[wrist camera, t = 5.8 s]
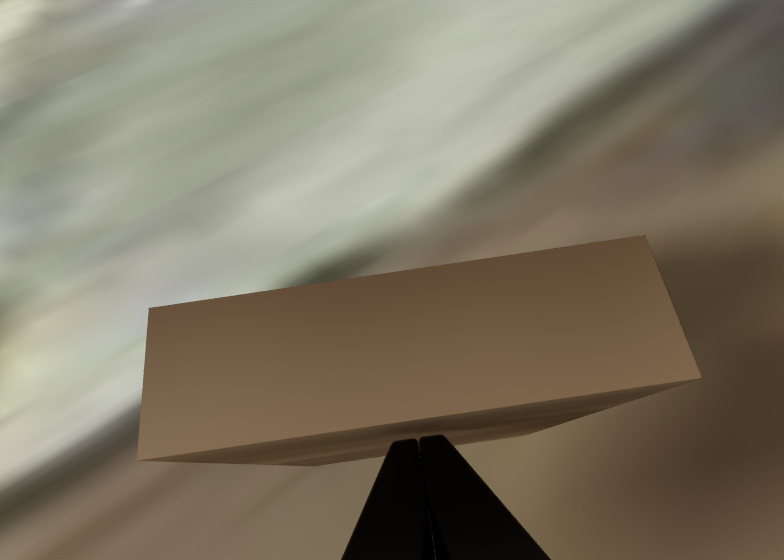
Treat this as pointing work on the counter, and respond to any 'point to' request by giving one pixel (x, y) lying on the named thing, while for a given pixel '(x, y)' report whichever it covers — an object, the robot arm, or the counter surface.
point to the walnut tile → (409, 357)
